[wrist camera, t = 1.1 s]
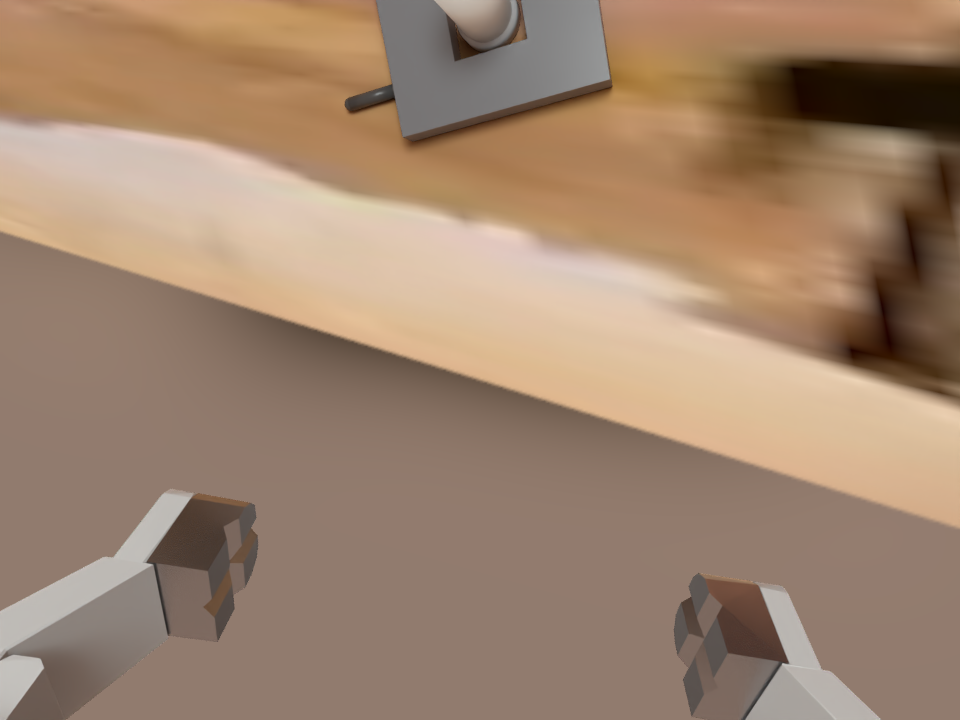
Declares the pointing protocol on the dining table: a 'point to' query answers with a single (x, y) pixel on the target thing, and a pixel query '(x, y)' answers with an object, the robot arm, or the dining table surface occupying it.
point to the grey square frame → (485, 65)
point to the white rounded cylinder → (484, 21)
